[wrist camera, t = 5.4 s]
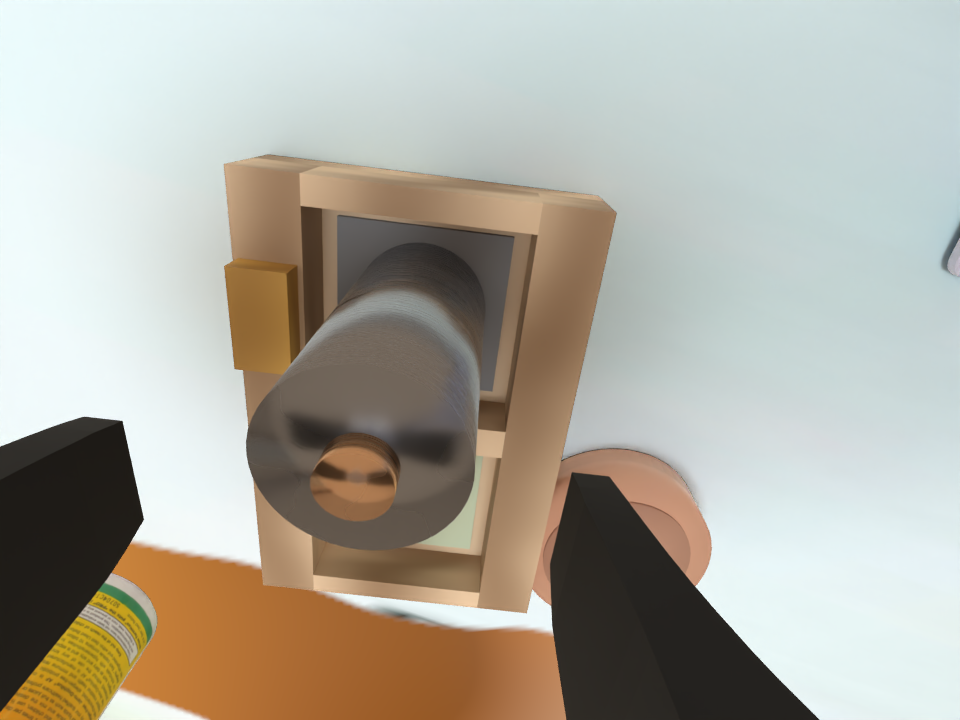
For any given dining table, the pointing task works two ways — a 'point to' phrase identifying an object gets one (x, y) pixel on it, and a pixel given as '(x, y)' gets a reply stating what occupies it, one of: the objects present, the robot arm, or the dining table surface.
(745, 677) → the robot arm
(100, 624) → the supplement bottle
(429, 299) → the cell
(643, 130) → the dining table surface
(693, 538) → the dish
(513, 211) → the board
